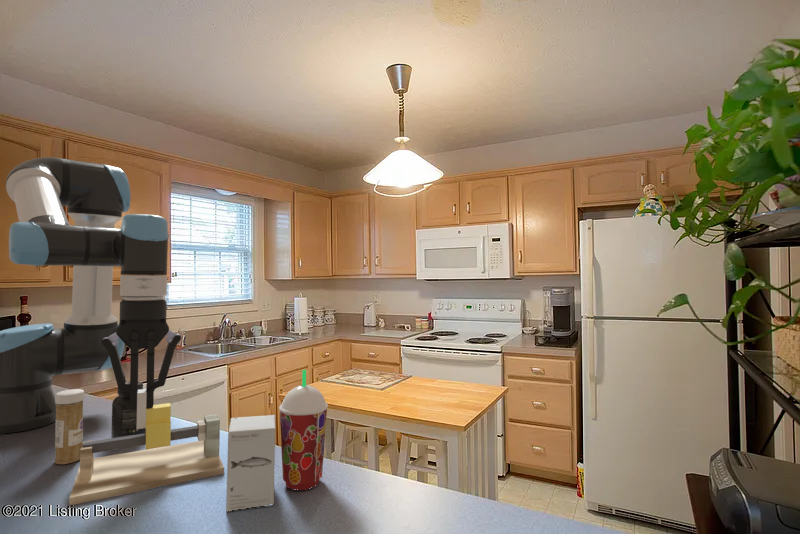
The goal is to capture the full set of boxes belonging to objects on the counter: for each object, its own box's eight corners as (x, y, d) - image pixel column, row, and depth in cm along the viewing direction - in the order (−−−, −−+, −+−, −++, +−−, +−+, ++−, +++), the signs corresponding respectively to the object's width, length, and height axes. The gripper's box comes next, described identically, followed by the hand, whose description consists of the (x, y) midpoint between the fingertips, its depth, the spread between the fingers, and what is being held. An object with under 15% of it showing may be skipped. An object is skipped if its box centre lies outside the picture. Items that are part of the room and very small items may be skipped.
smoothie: (336, 480, 80) (337, 368, 80) (304, 500, 73) (305, 377, 73) (301, 469, 84) (302, 363, 85) (267, 487, 77) (269, 371, 77)
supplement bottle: (153, 433, 102) (155, 380, 102) (133, 444, 95) (134, 388, 95) (126, 431, 103) (127, 379, 103) (103, 443, 96) (104, 387, 96)
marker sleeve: (145, 441, 85) (146, 404, 85) (169, 437, 87) (169, 401, 87) (145, 449, 81) (146, 410, 81) (170, 445, 83) (171, 407, 83)
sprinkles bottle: (82, 462, 86) (83, 392, 86) (52, 467, 84) (54, 395, 84) (83, 453, 90) (84, 387, 90) (55, 458, 88) (56, 390, 88)
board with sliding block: (81, 466, 84) (82, 423, 84) (212, 444, 96) (212, 406, 96) (69, 505, 70) (70, 453, 71) (224, 474, 82) (224, 429, 82)
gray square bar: (84, 451, 79) (84, 442, 79) (212, 431, 89) (212, 423, 89) (83, 454, 77) (83, 445, 77) (213, 434, 88) (213, 425, 88)
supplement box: (224, 513, 69) (226, 431, 69) (229, 491, 76) (230, 416, 76) (274, 507, 71) (275, 427, 71) (274, 485, 78) (275, 413, 78)
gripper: (99, 300, 76) (96, 439, 76) (184, 298, 82) (181, 426, 82) (103, 298, 83) (100, 425, 82) (181, 296, 89) (179, 415, 89)
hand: (141, 426), depth 82 cm, fingers closed
